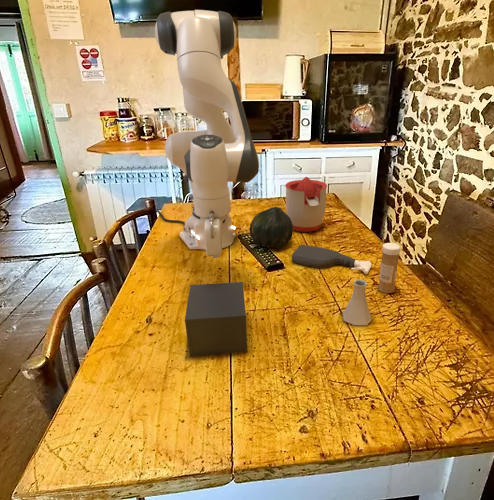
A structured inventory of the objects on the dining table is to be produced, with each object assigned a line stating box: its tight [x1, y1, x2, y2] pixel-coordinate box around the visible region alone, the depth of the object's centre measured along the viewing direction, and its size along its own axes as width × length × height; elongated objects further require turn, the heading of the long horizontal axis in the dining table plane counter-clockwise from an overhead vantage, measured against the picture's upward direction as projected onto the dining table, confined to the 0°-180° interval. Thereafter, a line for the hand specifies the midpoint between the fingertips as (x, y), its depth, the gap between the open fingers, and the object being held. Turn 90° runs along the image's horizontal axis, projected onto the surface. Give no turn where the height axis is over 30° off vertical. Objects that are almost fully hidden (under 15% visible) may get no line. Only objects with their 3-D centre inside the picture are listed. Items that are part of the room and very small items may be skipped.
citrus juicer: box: [284, 176, 328, 233], centre depth 150 cm, size 16×17×20 cm
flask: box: [342, 279, 373, 326], centre depth 96 cm, size 7×7×10 cm
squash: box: [249, 206, 294, 249], centre depth 137 cm, size 14×15×15 cm
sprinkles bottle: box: [377, 242, 401, 294], centre depth 107 cm, size 5×5×13 cm
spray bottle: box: [291, 244, 372, 275], centre depth 125 cm, size 3×11×24 cm
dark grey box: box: [184, 281, 249, 358], centre depth 91 cm, size 15×13×10 cm
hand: (216, 255), depth 102 cm, fingers closed
